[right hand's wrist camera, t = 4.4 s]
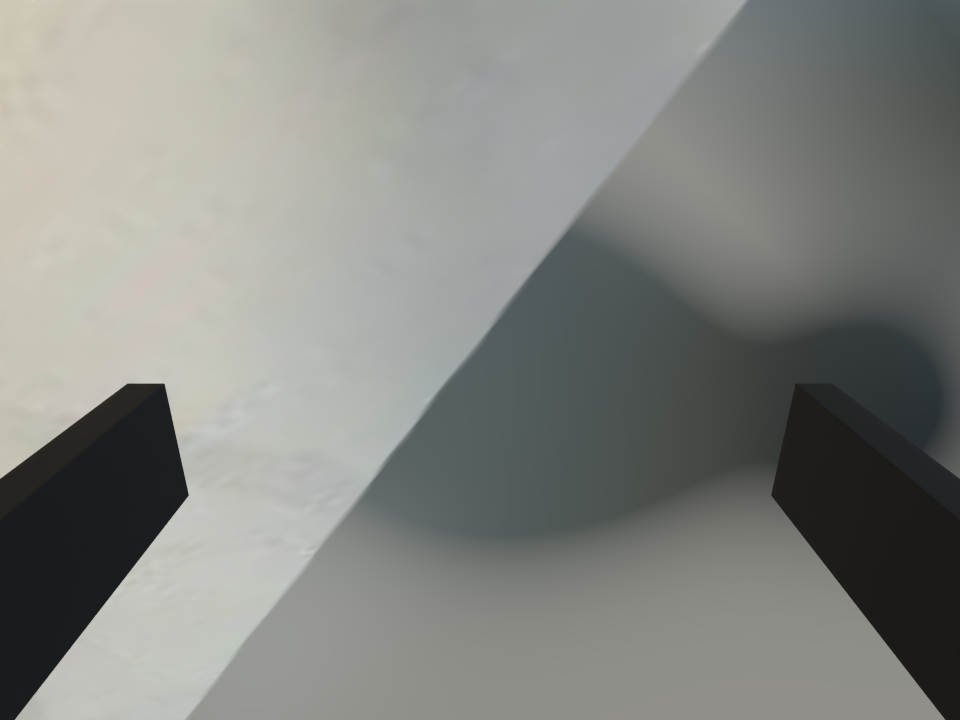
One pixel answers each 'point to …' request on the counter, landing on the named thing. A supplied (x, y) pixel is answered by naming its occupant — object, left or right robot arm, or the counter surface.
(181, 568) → the counter surface
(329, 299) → the counter surface
